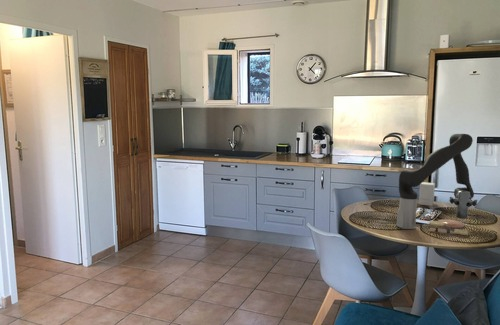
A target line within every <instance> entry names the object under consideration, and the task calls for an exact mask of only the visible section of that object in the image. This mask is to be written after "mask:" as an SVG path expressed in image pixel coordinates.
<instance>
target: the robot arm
mask: <svg viewBox="0 0 500 325" xmlns="http://www.w3.org/2000/svg"><path fill="white" fill-rule="evenodd" d="M473 141H474V140H473V137H472V136H471V135H470V134H467V133H454V134H452V135H451V136H450V137H449V141H448V142H449V145H446V146H444V147H441V148H438V149H436V150H434V151H432V153H430V154H429V155H427V157H426V158H425V161H424V164H423V165H422V166H421V167H420V168H418V169H416V170H413V169H408V168H405V169H402V170H401V171H400V173H399V178H398V192H399V205H398V207H399V208H398V209H397V212H396V213H397V214H396V226H397V227H398V228H400V229H404V230H414V229H416V220H417V210H418V209H417V207H418V206H417V205H418V193H417V192H416V191H415V190H414V189H413V188H416V187H419V186H420V184H421V183H422V182H425V180H426V179H427V178H429V177H430V176H431V175H432V174H433V173H434V172H437V170H439V169H440V168H442V167H443V166H444V165H446V164H447V163H449V161H451V160H453V163H454V169H455V181H456V184H459V185H464V186H465V187H456V188H455V189H454V191H453V195H454V197H452V196H450V197H449V200H448V201H449V204H454V205H455V206H457V199H458V191H468V192H470V198H469V208H471V207H472V206H473V207H476V206H477V205H478V199H473V198H474V197H475V192H474V190H473V187H472V185H471V180H470V172H469V168H468V165H467V164H466V161H465V160H464V158H463V156H462V153H463V152H465V151H466V150H467V151H468V149H469V148H471V146H472V144H473ZM472 199H473V200H472Z"/></svg>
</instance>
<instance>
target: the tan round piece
mask: <svg viewBox="0 0 500 325" xmlns="http://www.w3.org/2000/svg"><path fill="white" fill-rule="evenodd" d="M438 221H439V222H444V224H443V226H445V227H449V228H450V229H463V228H465V223H464V222H462V221H459V220H455V219H443V218H442V219H439V220H438Z"/></svg>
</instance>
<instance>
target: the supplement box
mask: <svg viewBox="0 0 500 325" xmlns="http://www.w3.org/2000/svg"><path fill="white" fill-rule="evenodd" d="M435 188H436V183H435V182H427V181H426V182H425V181H423V182H422V183H421V184H420V185H419V195H418V196H419V197H418V205H421V206H430V207H433V206H434V204H435V191H436V190H435Z"/></svg>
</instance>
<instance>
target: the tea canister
mask: <svg viewBox="0 0 500 325" xmlns="http://www.w3.org/2000/svg"><path fill="white" fill-rule="evenodd" d="M469 198H470V192H468V191H458V199H457V205H456V209H455V210H456V212H455V217H456V218H458V219H463V220H465V219H466V220H467V219H468V217H469V216H468V215H469V208H470V207H469Z"/></svg>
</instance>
